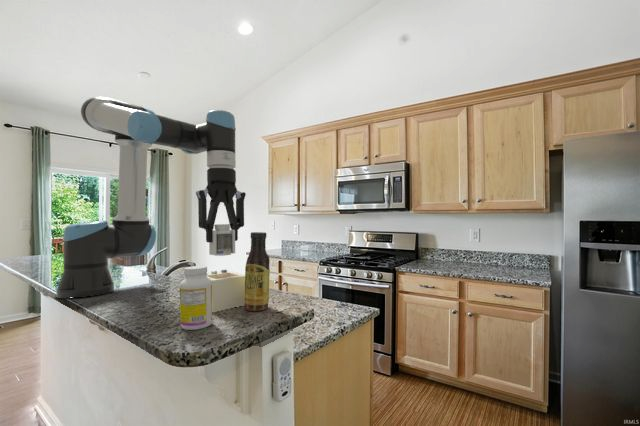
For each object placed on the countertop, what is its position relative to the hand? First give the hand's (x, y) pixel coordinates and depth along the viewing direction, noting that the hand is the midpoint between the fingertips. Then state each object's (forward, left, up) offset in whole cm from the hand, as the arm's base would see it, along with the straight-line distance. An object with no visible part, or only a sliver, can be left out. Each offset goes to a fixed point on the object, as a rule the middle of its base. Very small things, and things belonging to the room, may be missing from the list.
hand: (222, 253), depth 88 cm
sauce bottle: (+10, +5, -14) cm, 18 cm away
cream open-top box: (0, 0, -14) cm, 14 cm away
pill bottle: (0, 0, -1) cm, 1 cm away
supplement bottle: (+12, -12, -14) cm, 22 cm away
